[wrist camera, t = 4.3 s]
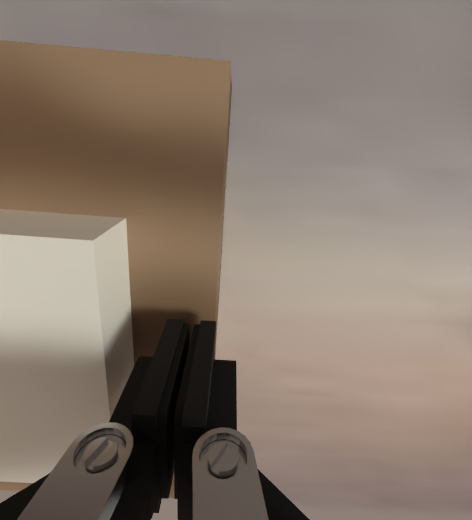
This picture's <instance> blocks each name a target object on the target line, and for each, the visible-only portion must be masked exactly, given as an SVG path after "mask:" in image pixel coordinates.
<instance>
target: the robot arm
mask: <svg viewBox="0 0 472 520" xmlns="http://www.w3.org/2000/svg"><path fill="white" fill-rule="evenodd" d="M215 339H216V321H206V320H201V322H200V324H194V327H193V332H192V336H191V341H190V324H185V323H184V319H169V318H168V319H167V322H166V324H165V327H164V329H163V332H162V335H161V337H160V340H159V342H158V345H157V347H156V350H155V353H154V355H153V357H152V356H140V357H138V359H137V361H136V363H135V365H134V368H133V370H132V372H131V374H130V376H129V379H128V381H127V383H126V385H125V387H124V390H123V392H122V394H121V396H120V398H119V401H118V403H117V405H116V407H115V409H114V412H113V414H112V416H111V418H110V420H109V422H107V423H102V424H97V425H95V426H93V427H91V428H89V429H87V430H85V431H84V432H83V433H81V434H80V435H79V436H78V437H77V438H76V439H75V440H74V441H73V442H72V443H71V445H70V446H69V448H68V449H67V450H66V452H65V453H64V455H63V456H62V457H61V459H60V460H59V462H58V463H57V464H56V466H55V467H54V469H53V470H52V471H51V473H49V474H47V475H46V476H44V477H42V478H41V479H39V480H38V481H36V482H34V483H33V484H31V485H29V486H28V487H26V488H25V489H23V490H21V491H20V492H18V493H16V494H15V495H13V496H11V497H10V498H8V499H7V500H5V501H3V502H2V503H0V520H150V519H151V518H152V515H153V513H159V509H160V504H161V499H162V498H169V495H170V490H171V485H172V479H173V474H174V498H175V499H178V520H309V519H308V518H307V517H306V516H305V515H304V514H303V513H302V512H301V511H300V510H299V509H298V508H297V507H296V506H295V505H294V504H293V503H292V502H291V501H290V500H289V499H288V498H287V497H286V496H285V495H284V494H283V493H282V492H281V491H280V490H279V489H278V488H277V487H276V486H275V485H274V484H272V483H271V482H270V481H269V480H268V479H267V478H266V477H265V476H264V475H263V474H262V473H261V472H260V471H259V470H258V469H257V464H256V460H255V455H254V451H253V448H252V446H251V443H250V442H249V440H248V439H247V438H246V437H245V436H244V435H243V434H241V433H240V432H239V431H237V408H236V361H230V360H215Z"/></svg>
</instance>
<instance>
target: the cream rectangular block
mask: <svg viewBox="0 0 472 520" xmlns="http://www.w3.org/2000/svg"><path fill="white" fill-rule="evenodd" d="M133 368H134V352H133V334H132V316H131V298H130V280H129V262H128V244H127V225H126V218H118V217H104V216H90V215H77V214H63V213H49V212H35V211H22V210H8V209H0V482H20V483H34V482H36V481H38V480H39V479H41V478H42V477H44V476H46V475H47V474H49V473H51V471H52V470H53V469H54V467H55V466H56V464H57V463H58V462H59V460H60V459H61V457H62V456H63V455H64V453H65V452H66V450H67V449H68V448H69V446H70V445H71V443H72V442H73V441H74V440H75V439H76V438H77V437H78V436H79V435H80V434H81V433H83V432H84V431H85V430H87V429H89V428H91V427H93V426H95V425H97V424H102V423H107V422H109V420H110V418H111V416H112V414H113V412H114V409H115V407H116V405H117V403H118V401H119V398H120V396H121V394H122V392H123V390H124V387H125V385H126V383H127V381H128V379H129V376H130V374H131V372H132V370H133Z"/></svg>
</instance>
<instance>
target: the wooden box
mask: <svg viewBox="0 0 472 520" xmlns="http://www.w3.org/2000/svg"><path fill="white" fill-rule="evenodd" d="M231 92H232V82H231V65H230V61H225V60H214V59H203V58H192V57H180V56H169V55H158V54H147V53H135V52H124V51H113V50H102V49H90V48H79V47H68V46H57V45H45V44H34V43H23V42H12V41H1V40H0V209H8V210H22V211H35V212H49V213H63V214H77V215H90V216H104V217H118V218H126V225H127V244H128V262H129V280H130V298H131V316H132V334H133V352H134V365H135V363H136V361H137V359H138V357H140V356H152V357H153V355H154V353H155V350H156V347H157V345H158V342H159V340H160V337H161V335H162V332H163V329H164V327H165V324H166V322H167V319H168V318H169V319H184V323H185V324H190V341H191V336H192V332H193V327H194V324H200V322H201V320H206V321H216V334H217V318H218V302H219V285H220V269H221V253H222V237H223V221H224V205H225V189H226V172H227V156H228V140H229V124H230V108H231ZM215 350H216V339H215ZM31 484H33V483H20V482H0V490H10V491H21V490H23V489H25V488H26V487H28V486H29V485H31ZM169 498H174V474H173V479H172V485H171V490H170V495H169Z"/></svg>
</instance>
